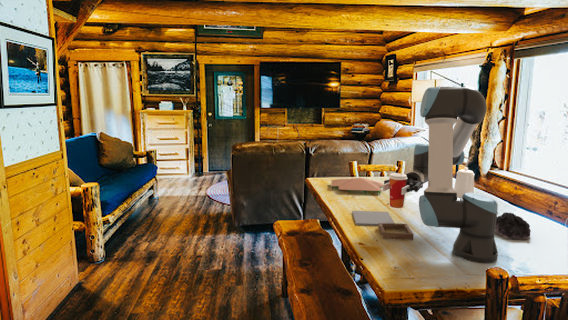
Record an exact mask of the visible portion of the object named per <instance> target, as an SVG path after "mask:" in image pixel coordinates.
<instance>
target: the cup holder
mask: <svg viewBox="0 0 568 320" xmlns="http://www.w3.org/2000/svg"><path fill="white" fill-rule="evenodd" d="M377 227H378V230H379V233H380V235H381V237H382V239H383V240H398V241H399V240H400V241H401V240H402V241H404V240H405V241H413V240H414V232H413V231H412V229H410V227H409V225H408V223H396V222H394V223H379V225H378V226H377ZM386 230H392V231H393V230H394V231H395V230H396V231H398V230H399V231H404V232H387V231H386Z"/></svg>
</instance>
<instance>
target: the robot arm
mask: <svg viewBox="0 0 568 320" xmlns="http://www.w3.org/2000/svg"><path fill="white" fill-rule="evenodd" d="M487 108H488V105H487V101H486V99H485V97H484V95H483V94H482V93H481V92H480V91H479V90H478V89H476V88H474V87H470V86H434V87H431V86H430V87H427V88H426V90H425V91H424V92H423V95H422V98H421V104H420V109H419V111H420V112H419V113H420V117H421V118H424V123H425V124H426V125H427V126H428V143H416V144H415V145H414V151H413V162H412V163H413V166H412V170H411V171H409V172H407V173H404V174H405V175H407V178H408V179H407V181H406V186H405V187H403V188H402V192H401V195H404V194H405V195H406V194H408V193H410V192H413V191H414V192H415V193H418V192H419V191H420V189H423V186H424V184H426V183H427V187H426V188H425V189H424V190H423V194H422V195H420V196H419V198H418V209H419V214H420V215H419V216H420V219H421V221H422V223H423V224H424V225H425V226H426V227H435V228H449V229H451V228H452V229H459V233H458V234H457V237H456V239H455V241H454V243H453V245H452V252H453V253H454V255H456V256H457V257H459V258H461V259H463V260H466V261H469V262H472V263H477V264H478V263H479V264H492V263H495V262H496V261H498V258H499V252H498V248H497V245H496V241H495V234H496V232H495V227H496V220H497V217H498V214H499V213H498V209H499V208H498V207H499V206H498V202H497V200H495V199H494V198H492V197H490V196H487V195H483V194H481V193H480V194H479V193H475V192H474V193H464V194H463V197H457V192H456V191H455V190H454V187H453V186H454V185H453V183H454V182H453V176H454V175H453V172H454V171H453V166H455V165H456V166H457V165H458V166H459V165H463V163H464V162H465V155H466V154H465V151H464V149H465V148H466V145H467V144H468V142H469V140H470V138H471V136H472V134H473V133H474V131H475V129H476V127H477V125H478V124H480V123H482V122H483V120H484V118H485V117H486V114H487V111H488V109H487ZM388 190H390V178H389V179H385V180H383V188H382V192H385V191H388Z"/></svg>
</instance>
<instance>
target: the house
mask: <svg viewBox="0 0 568 320" xmlns="http://www.w3.org/2000/svg"><path fill="white" fill-rule="evenodd" d="M330 184H331V187H334V188H337V187H338V190H339V191H340V190H341V191H343V190H344V191H347V193H349V194H352V191H353V194H355V193H356V192H355V191H357V194H360V191H361V195H366V194H369V193H370V192H371V194H374V192H375V195H381V192H383V185H384V182H383V183H382V182H380V181H379V182H378V181H375V180H371V179H366V178H363V177H355V178H354V177H353V178H339V179H332V180H331V183H330ZM367 191H368V192H367Z"/></svg>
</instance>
